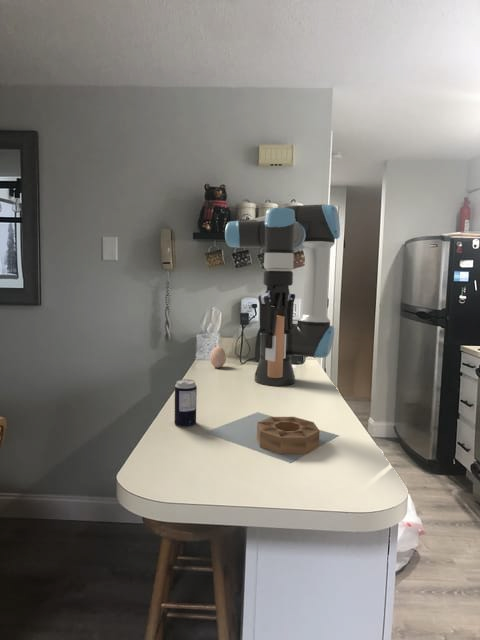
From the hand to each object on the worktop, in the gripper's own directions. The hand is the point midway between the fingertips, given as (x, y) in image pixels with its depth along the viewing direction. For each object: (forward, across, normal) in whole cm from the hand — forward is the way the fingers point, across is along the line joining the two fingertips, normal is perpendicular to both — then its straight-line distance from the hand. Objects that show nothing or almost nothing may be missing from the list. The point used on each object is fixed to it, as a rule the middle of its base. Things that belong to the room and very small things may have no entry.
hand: (275, 358), depth 118 cm
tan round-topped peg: (+5, 0, 0) cm, 5 cm away
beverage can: (+18, +17, -17) cm, 30 cm away
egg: (+19, -40, -58) cm, 73 cm away
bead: (+18, +8, +10) cm, 22 cm away
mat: (+18, +7, +4) cm, 20 cm away
